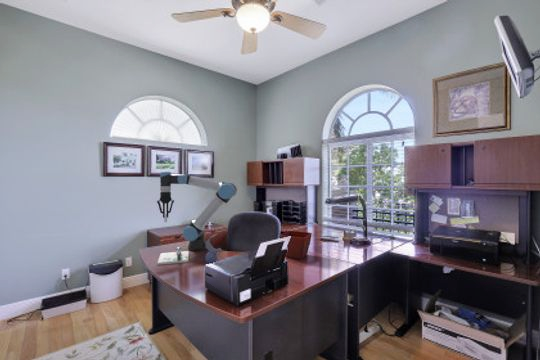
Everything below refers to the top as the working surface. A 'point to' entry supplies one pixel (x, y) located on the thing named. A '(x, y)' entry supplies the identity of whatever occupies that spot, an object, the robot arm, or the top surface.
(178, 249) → the ball-tipped lever
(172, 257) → the dial board
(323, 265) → the top surface
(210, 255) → the seal
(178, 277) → the top surface
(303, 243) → the plant pot
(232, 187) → the robot arm
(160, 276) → the top surface
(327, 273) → the top surface
